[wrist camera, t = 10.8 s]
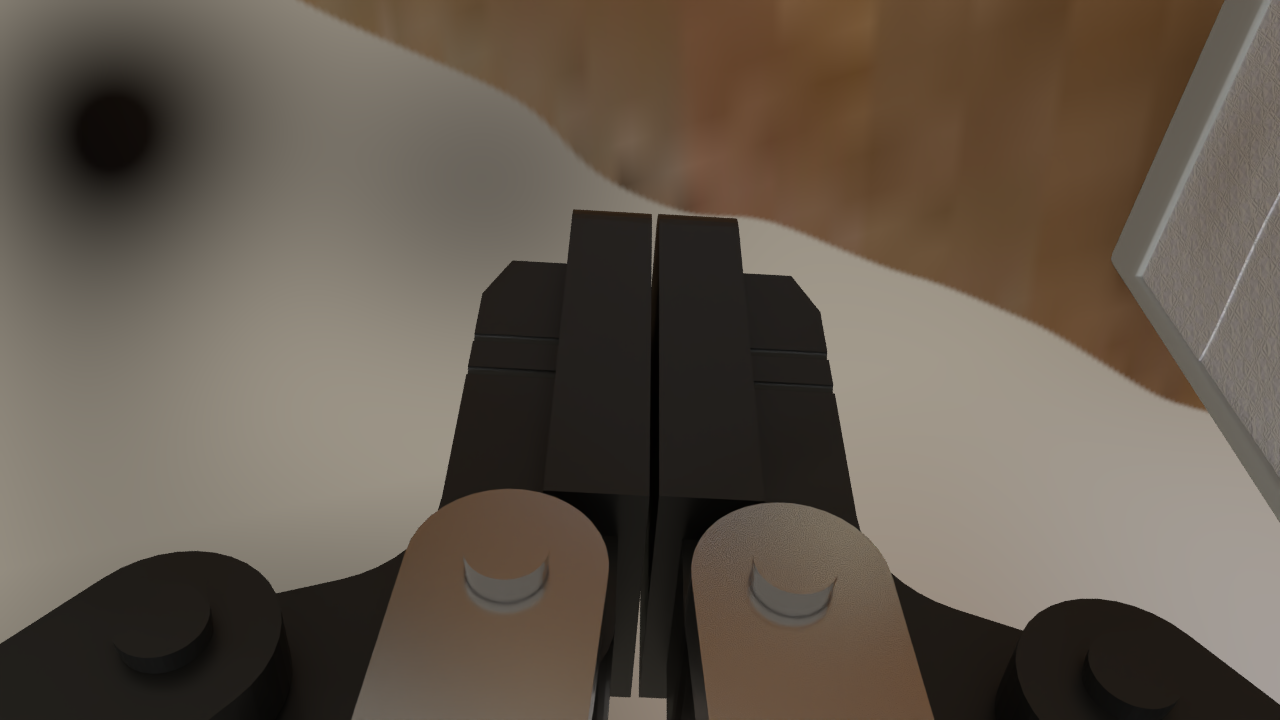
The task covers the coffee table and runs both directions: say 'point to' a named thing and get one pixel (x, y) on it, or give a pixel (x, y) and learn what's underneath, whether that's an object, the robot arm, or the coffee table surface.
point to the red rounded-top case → (1220, 236)
